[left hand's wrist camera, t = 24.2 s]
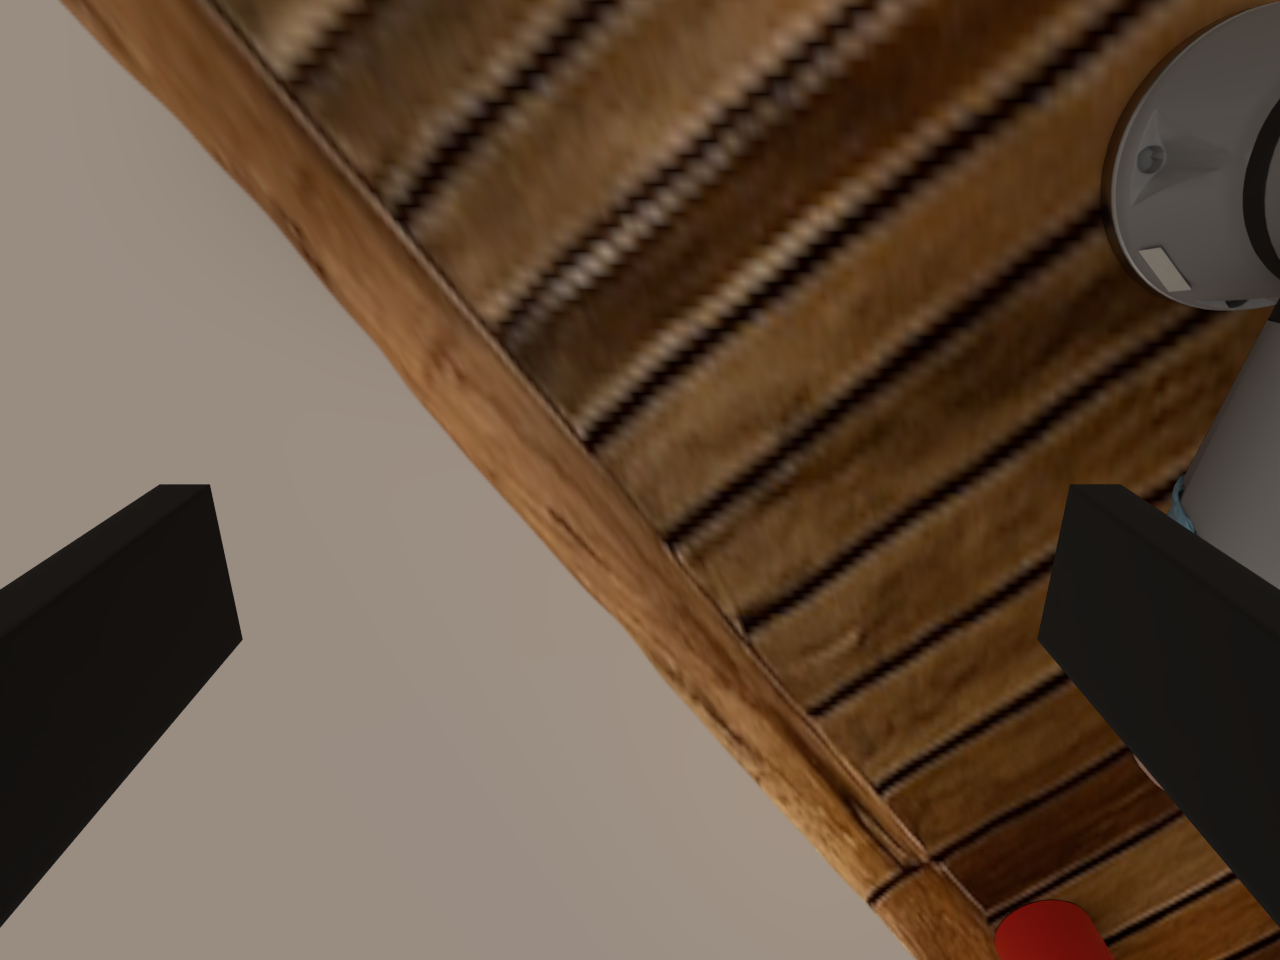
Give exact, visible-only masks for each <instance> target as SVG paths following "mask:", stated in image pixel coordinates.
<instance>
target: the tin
mask: <svg viewBox="0 0 1280 960" xmlns="http://www.w3.org/2000/svg"><path fill="white" fill-rule="evenodd" d="M995 948H996V951H997V953H998V956H999V958H1000V960H1115V959H1114V957H1113V956H1112V954H1111V952H1110V951H1109V949H1108V947H1107V946H1106V944H1105V942H1104V941H1103V939H1102V937H1101V936H1100V934H1099V932H1098V931H1097V929H1096V927H1095V926H1094V924H1093V922H1092V921H1091V919H1090V917H1089V916H1088V915H1087V913H1086V912H1085V911H1084V910H1082V909H1081V908H1080V907H1078V906H1076V905H1074V904H1072V903H1069V902H1065V901H1058V900H1046V901H1039V902H1034V903H1031V904H1028V905H1025V906H1023V907H1021V908H1019V909H1017V910H1015V911H1014V912H1012V913H1011V914H1010V915H1008V916H1007V917H1006V918H1005V919H1004V920H1003V921H1002V923H1001V924H1000V925H999V927H998V929H997V931H996V934H995Z"/></svg>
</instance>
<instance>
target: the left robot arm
mask: <svg viewBox="0 0 1280 960" xmlns="http://www.w3.org/2000/svg"><path fill="white" fill-rule="evenodd" d="M1101 208H1102V217H1103V222H1104V227H1105V231H1106V234H1107V237H1108V240H1109V243H1110V245H1111V247H1112V249H1113V252H1114V254H1115V255H1116V257H1117V259H1118V260H1119V262H1120V263H1121V265H1122V266H1123V267H1124V269H1125V270H1126V271H1127V272H1128V273H1129V274H1130V275H1131V276H1132V277H1133V278H1134V279H1135V280H1136V281H1137V282H1138V283H1139V284H1140V285H1142V286H1143V287H1144V288H1146V289H1147V290H1149V291H1151V292H1152V293H1154V294H1156V295H1158V296H1160V297H1162V298H1165V299H1167V300H1170V301H1173V302H1176V303H1180V304H1184V305H1188V306H1192V307H1197V308H1202V309H1209V310H1248V309H1256V308H1261V307H1267V306H1271V305H1275V304H1276V306H1275V307H1274V309H1273V311H1272V313H1271V315H1270V317H1269V318H1268V320H1269V321H1268V320H1267V321H1266V323H1265V325H1264V327H1263V329H1262V330H1261V332H1260V334H1259V336H1258V338H1257V340H1256V342H1255V344H1254V346H1253V347H1252V349H1251V351H1250V353H1249V355H1248V357H1247V359H1246V361H1245V363H1244V365H1243V366H1242V368H1241V370H1240V372H1239V374H1238V376H1237V378H1236V380H1235V382H1234V383H1233V385H1232V387H1231V389H1230V391H1229V393H1228V395H1227V397H1226V399H1225V400H1224V402H1223V404H1222V406H1221V408H1220V410H1219V412H1218V414H1217V416H1216V417H1215V419H1214V421H1213V423H1212V425H1211V427H1210V429H1209V431H1208V433H1207V435H1206V436H1205V438H1204V440H1203V442H1202V444H1201V446H1200V448H1199V450H1198V452H1197V453H1196V455H1195V457H1194V459H1193V461H1192V463H1191V465H1190V467H1189V469H1188V470H1187V472H1186V474H1184V475H1182V476H1180V477H1179V479H1178V481H1177V483H1176V484H1175V486H1174V489H1173V493H1172V505H1171V507H1170V510H1169V512H1168V514H1167V515H1166V514H1164V513H1163V512H1161V511H1160V510H1158V509H1157V508H1155V507H1154V506H1152V505H1151V504H1149V503H1148V502H1146V501H1145V500H1143V499H1142V498H1140V497H1139V496H1137V495H1136V494H1134V493H1133V492H1131V491H1129V490H1128V489H1126V488H1125V487H1123V486H1122V485H1120V484H1070V488H1069V492H1068V497H1067V502H1066V506H1065V511H1064V516H1063V521H1062V525H1061V530H1060V535H1059V540H1058V544H1057V549H1056V554H1055V559H1054V563H1053V568H1052V573H1051V578H1050V582H1049V587H1048V592H1047V596H1046V601H1045V606H1044V611H1043V615H1042V620H1041V625H1040V630H1039V634H1038V639H1037V640H1038V641H1039V642H1040V643H1041V645H1042V646H1043V647H1044V648H1045V649H1046V650H1047V652H1048V653H1049V654H1050V655H1051V656H1052V658H1053V659H1054V660H1055V661H1056V662H1057V664H1058V665H1059V666H1060V667H1061V668H1062V669H1063V671H1064V672H1065V673H1066V674H1067V675H1068V677H1069V678H1070V679H1071V680H1072V681H1073V683H1074V684H1075V685H1076V686H1077V687H1078V688H1079V690H1080V691H1081V692H1082V693H1083V694H1084V696H1085V697H1086V698H1087V699H1088V700H1089V702H1090V703H1091V704H1092V705H1093V706H1094V707H1095V709H1096V710H1097V711H1098V712H1099V713H1100V715H1101V716H1102V717H1103V718H1104V719H1105V721H1106V722H1107V723H1108V724H1109V725H1110V726H1111V728H1112V729H1113V730H1114V731H1115V732H1116V734H1117V735H1118V736H1119V737H1120V738H1121V740H1122V741H1123V742H1124V743H1125V744H1126V745H1127V747H1128V748H1129V749H1130V750H1131V751H1132V753H1133V754H1134V755H1135V756H1136V757H1137V759H1138V760H1139V761H1140V762H1141V763H1142V764H1143V766H1144V767H1145V768H1146V769H1147V770H1148V772H1149V773H1150V774H1151V775H1152V776H1153V778H1154V779H1155V780H1156V781H1157V782H1158V783H1159V785H1160V786H1161V787H1162V788H1163V789H1164V791H1165V792H1166V793H1167V794H1168V795H1169V797H1170V798H1171V799H1172V800H1173V801H1174V803H1175V804H1176V805H1177V806H1178V807H1179V808H1180V810H1181V811H1182V812H1183V813H1184V814H1185V816H1186V817H1187V818H1188V819H1189V820H1190V822H1191V823H1192V824H1193V825H1194V826H1195V827H1196V829H1197V830H1198V831H1199V832H1200V833H1201V835H1202V836H1203V837H1204V838H1205V839H1206V841H1207V842H1208V843H1209V844H1210V845H1211V846H1212V848H1213V849H1214V850H1215V851H1216V852H1217V854H1218V855H1219V856H1220V857H1221V858H1222V860H1223V861H1224V862H1225V863H1226V864H1227V865H1228V867H1229V868H1230V869H1231V870H1232V871H1233V873H1234V874H1235V875H1236V876H1237V877H1238V879H1239V880H1240V881H1241V882H1242V883H1243V884H1244V886H1245V887H1246V888H1247V889H1248V890H1249V892H1250V893H1251V894H1252V895H1253V896H1254V898H1255V899H1256V900H1257V901H1258V902H1259V903H1260V905H1261V906H1262V907H1263V908H1264V909H1265V911H1266V912H1267V913H1268V914H1269V915H1270V917H1271V918H1272V919H1273V920H1274V921H1275V922H1276V924H1277V925H1278V926H1279V927H1280V1H1279V2H1275V3H1271V4H1266V5H1262V6H1258V7H1254V8H1251V9H1247V10H1244V11H1241V12H1238V13H1235V14H1232V15H1229V16H1227V17H1224V18H1222V19H1220V20H1218V21H1215V22H1214V23H1212V24H1210V25H1208V26H1206V27H1204V28H1203V29H1201V30H1199V31H1198V32H1196V33H1195V34H1193V35H1192V36H1190V37H1189V38H1187V39H1186V40H1185V41H1183V42H1182V43H1181V44H1180V45H1178V46H1177V47H1176V48H1175V49H1173V50H1172V51H1171V52H1170V53H1169V54H1168V55H1167V56H1166V57H1165V58H1164V59H1162V60H1161V61H1160V63H1159V64H1158V65H1157V66H1156V67H1155V68H1154V69H1153V70H1152V71H1151V72H1150V73H1149V75H1148V76H1147V77H1146V78H1145V80H1144V81H1143V82H1142V83H1141V85H1140V86H1139V87H1138V89H1137V90H1136V92H1135V93H1134V95H1133V96H1132V98H1131V99H1130V101H1129V103H1128V104H1127V106H1126V108H1125V110H1124V111H1123V113H1122V115H1121V117H1120V119H1119V121H1118V123H1117V126H1116V128H1115V130H1114V133H1113V135H1112V138H1111V141H1110V144H1109V147H1108V150H1107V154H1106V158H1105V162H1104V168H1103V173H1102V182H1101ZM241 641H242V634H241V630H240V625H239V620H238V615H237V611H236V606H235V601H234V596H233V592H232V587H231V582H230V578H229V573H228V568H227V563H226V559H225V554H224V549H223V544H222V540H221V535H220V530H219V525H218V521H217V516H216V511H215V507H214V502H213V497H212V492H211V488H210V485H209V484H207V485H205V484H204V485H203V484H200V485H199V484H191V485H190V484H187V485H185V484H177V485H175V484H168V485H167V484H166V485H164V484H160V485H158V486H157V487H155V488H154V489H152V490H151V491H149V492H147V493H146V494H144V495H143V496H141V497H140V498H138V499H137V500H135V501H134V502H132V503H131V504H129V505H128V506H126V507H125V508H123V509H122V510H120V511H119V512H117V513H116V514H114V515H113V516H111V517H110V518H108V519H107V520H105V521H104V522H102V523H101V524H99V525H97V526H96V527H95V528H93V529H91V530H90V531H88V532H87V533H85V534H84V535H82V536H81V537H79V538H78V539H76V540H75V541H73V542H72V543H70V544H69V545H67V546H66V547H64V548H63V549H61V550H60V551H58V552H57V553H55V554H54V555H52V556H51V557H49V558H48V559H46V560H44V561H43V562H41V563H40V564H39V565H37V566H35V567H34V568H32V569H31V570H29V571H28V572H26V573H25V574H23V575H22V576H20V577H19V578H17V579H16V580H14V581H13V582H11V583H10V584H8V585H7V586H5V587H4V588H2V589H0V927H1V926H2V925H3V924H4V922H5V921H6V920H7V919H8V918H9V917H10V915H11V914H12V913H13V912H14V911H15V909H16V908H17V907H18V906H19V905H20V903H21V902H22V901H23V900H24V899H25V897H26V896H27V895H28V894H29V893H30V892H31V890H32V889H33V888H34V887H35V886H36V884H37V883H38V882H39V881H40V880H41V879H42V877H43V876H44V875H45V874H46V873H47V871H48V870H49V869H50V868H51V867H52V865H53V864H54V863H55V862H56V861H57V860H58V858H59V857H60V856H61V855H62V854H63V852H64V851H65V850H66V849H67V848H68V846H69V845H70V844H71V843H72V842H73V841H74V839H75V838H76V837H77V836H78V835H79V833H80V832H81V831H82V830H83V829H84V827H85V826H86V825H87V824H88V823H89V822H90V820H91V819H92V818H93V817H94V816H95V814H96V813H97V812H98V811H99V810H100V808H101V807H102V806H103V805H104V804H105V803H106V801H107V800H108V799H109V798H110V797H111V795H112V794H113V793H114V792H115V791H116V789H117V788H118V787H119V786H120V785H121V783H122V782H123V781H124V780H125V779H126V778H127V776H128V775H129V774H130V773H131V772H132V770H133V769H134V768H135V767H136V766H137V764H138V763H139V762H140V761H141V760H142V759H143V757H144V756H145V755H146V754H147V753H148V751H149V750H150V749H151V748H152V747H153V745H154V744H155V743H156V742H157V741H158V740H159V738H160V737H161V736H162V735H163V734H164V732H165V731H166V730H167V729H168V728H169V726H170V725H171V724H172V723H173V722H174V721H175V719H176V718H177V717H178V716H179V715H180V713H181V712H182V711H183V710H184V709H185V707H186V706H187V705H188V704H189V703H190V701H191V700H192V699H193V698H194V697H195V696H196V694H197V693H198V692H199V691H200V690H201V688H202V687H203V686H204V685H205V684H206V683H207V681H208V680H209V679H210V678H211V677H212V675H213V674H214V673H215V672H216V671H217V669H218V668H219V667H220V666H221V665H222V664H223V662H224V661H225V660H226V659H227V658H228V656H229V655H230V654H231V653H232V652H233V650H234V649H235V648H236V647H237V646H238V644H239V643H240V642H241Z"/></svg>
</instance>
